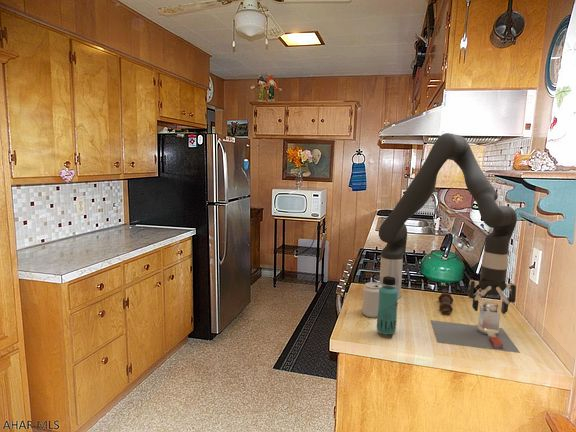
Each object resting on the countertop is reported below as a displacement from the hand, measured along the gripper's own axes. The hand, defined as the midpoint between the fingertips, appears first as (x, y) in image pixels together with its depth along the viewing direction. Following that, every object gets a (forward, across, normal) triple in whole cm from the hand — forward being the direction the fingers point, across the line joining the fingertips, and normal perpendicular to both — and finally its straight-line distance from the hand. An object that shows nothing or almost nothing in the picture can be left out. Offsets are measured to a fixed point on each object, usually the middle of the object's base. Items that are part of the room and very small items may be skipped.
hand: (489, 311), depth 129 cm
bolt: (+9, +10, -19) cm, 24 cm away
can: (+9, +39, -6) cm, 40 cm away
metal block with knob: (+5, 0, 0) cm, 5 cm away
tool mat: (+8, +6, +4) cm, 11 cm away
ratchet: (+7, 0, +5) cm, 9 cm away
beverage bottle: (+9, +34, +10) cm, 36 cm away
